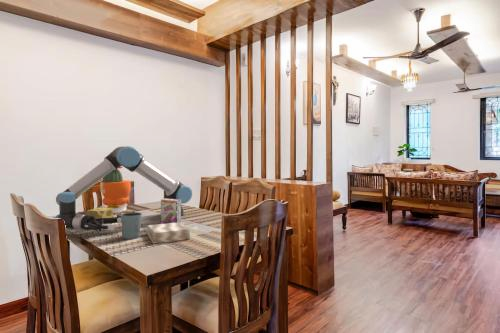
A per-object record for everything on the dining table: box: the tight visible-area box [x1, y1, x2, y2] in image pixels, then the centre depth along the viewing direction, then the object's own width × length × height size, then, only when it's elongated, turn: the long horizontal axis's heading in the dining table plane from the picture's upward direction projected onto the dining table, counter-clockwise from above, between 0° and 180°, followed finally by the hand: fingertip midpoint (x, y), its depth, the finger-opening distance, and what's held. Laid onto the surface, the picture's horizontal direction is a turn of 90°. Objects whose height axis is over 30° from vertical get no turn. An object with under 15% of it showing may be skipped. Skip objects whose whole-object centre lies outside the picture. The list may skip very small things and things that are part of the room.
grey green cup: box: [120, 211, 143, 240], centre depth 161 cm, size 10×10×12 cm
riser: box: [146, 222, 191, 244], centre depth 162 cm, size 18×18×5 cm
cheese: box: [86, 207, 114, 226], centre depth 183 cm, size 10×11×10 cm
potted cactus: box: [98, 166, 132, 214], centre depth 227 cm, size 22×22×35 cm
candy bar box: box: [160, 198, 182, 224], centre depth 181 cm, size 11×5×16 cm, turn 71°
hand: (122, 224), depth 161 cm, fingers open, 13 cm apart
